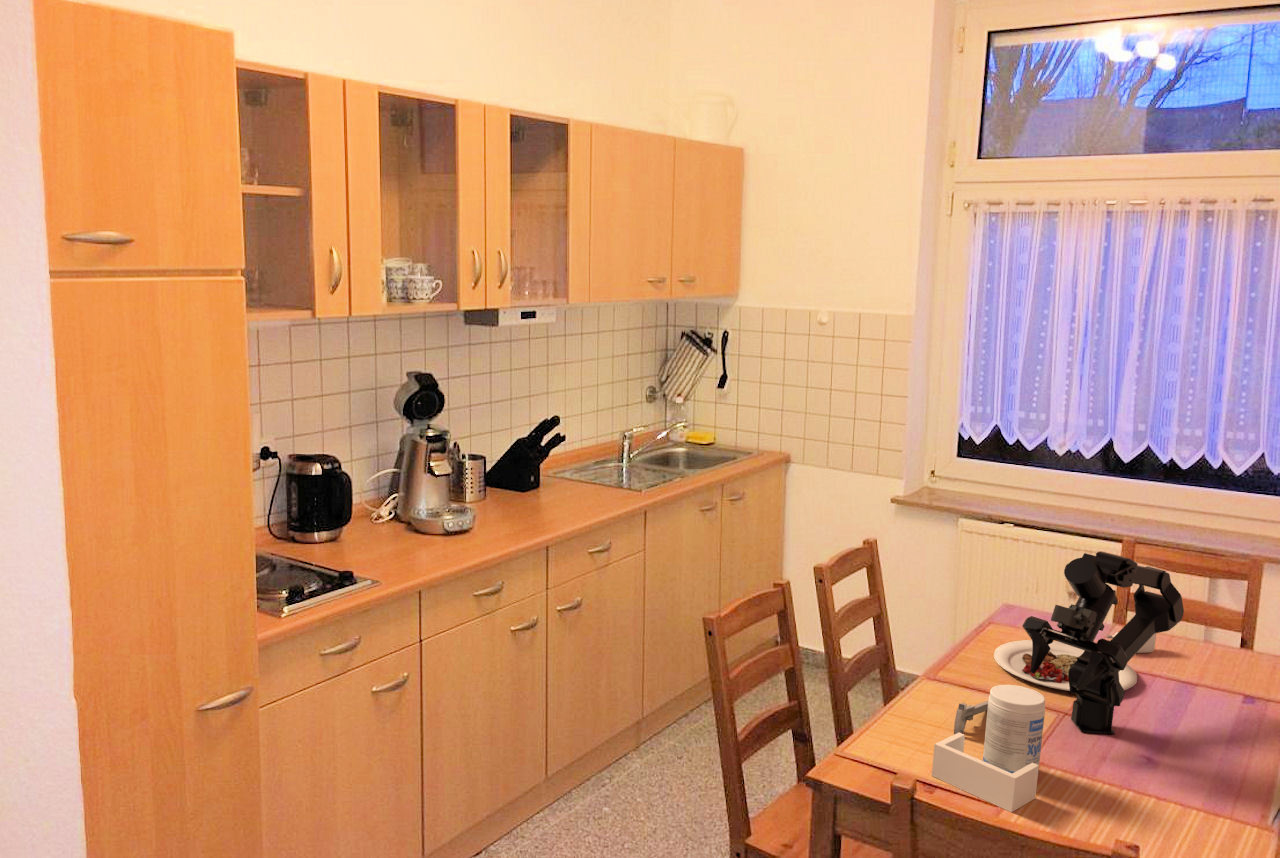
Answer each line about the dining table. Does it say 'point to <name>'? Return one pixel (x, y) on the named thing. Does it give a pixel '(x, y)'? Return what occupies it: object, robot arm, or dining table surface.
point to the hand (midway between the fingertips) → (1054, 680)
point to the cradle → (983, 775)
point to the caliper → (967, 714)
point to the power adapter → (1147, 646)
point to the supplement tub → (1013, 727)
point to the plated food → (1048, 664)
